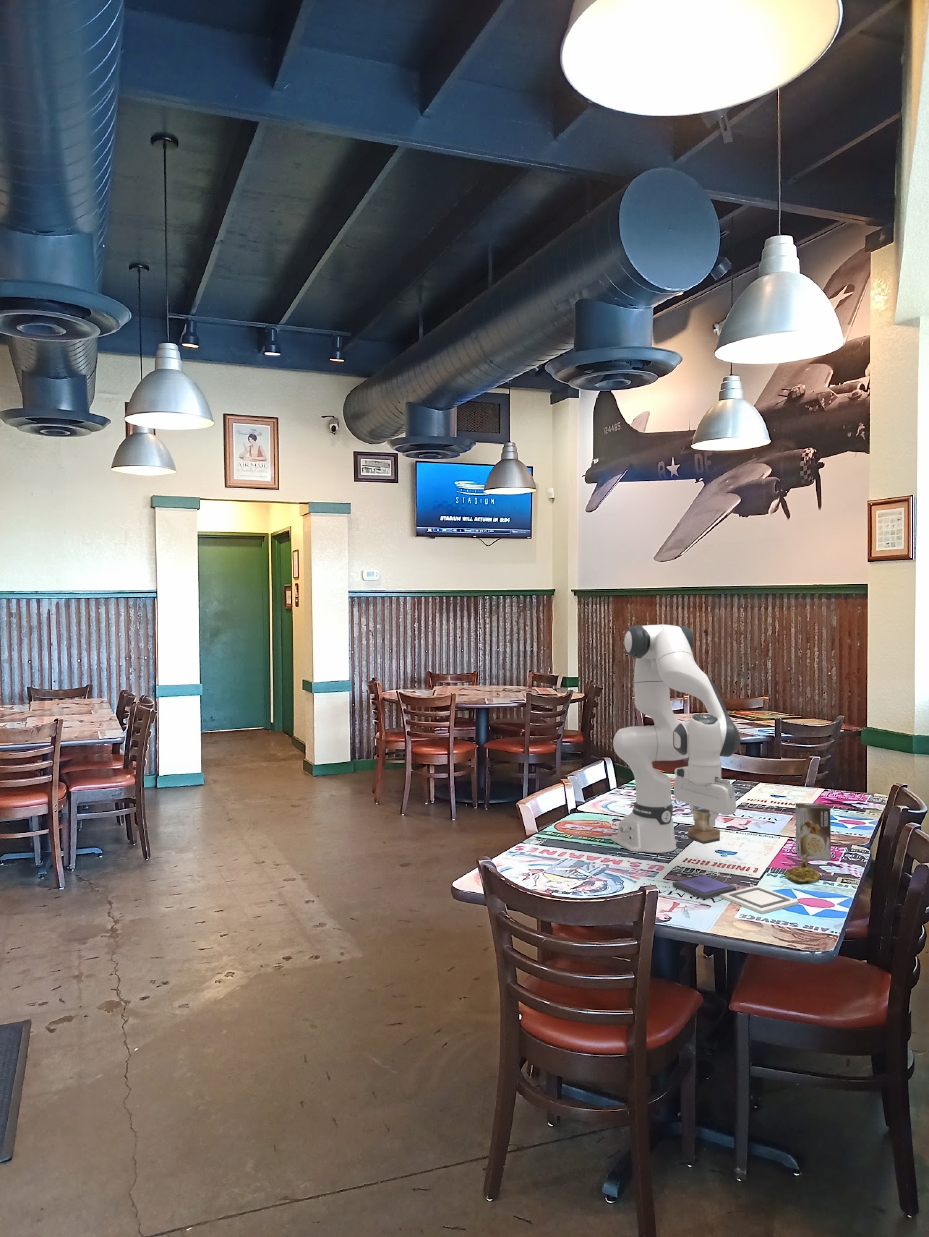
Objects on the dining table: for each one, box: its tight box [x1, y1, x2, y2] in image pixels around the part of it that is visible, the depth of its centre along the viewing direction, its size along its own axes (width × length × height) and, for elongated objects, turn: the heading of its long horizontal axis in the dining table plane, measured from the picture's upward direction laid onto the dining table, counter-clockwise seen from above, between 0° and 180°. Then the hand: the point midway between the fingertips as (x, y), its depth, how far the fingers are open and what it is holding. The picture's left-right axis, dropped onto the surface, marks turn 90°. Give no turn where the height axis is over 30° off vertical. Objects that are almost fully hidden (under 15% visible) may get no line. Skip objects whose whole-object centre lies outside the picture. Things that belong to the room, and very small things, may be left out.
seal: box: [784, 858, 821, 885], centre depth 251 cm, size 9×5×15 cm
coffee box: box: [795, 802, 832, 861], centre depth 269 cm, size 9×6×16 cm
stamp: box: [687, 808, 721, 845], centre depth 240 cm, size 6×6×8 cm
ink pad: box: [672, 874, 737, 900], centre depth 241 cm, size 12×12×2 cm
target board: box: [720, 885, 800, 915], centre depth 232 cm, size 14×14×1 cm
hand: (704, 823), depth 240 cm, fingers closed on stamp, 4 cm apart
